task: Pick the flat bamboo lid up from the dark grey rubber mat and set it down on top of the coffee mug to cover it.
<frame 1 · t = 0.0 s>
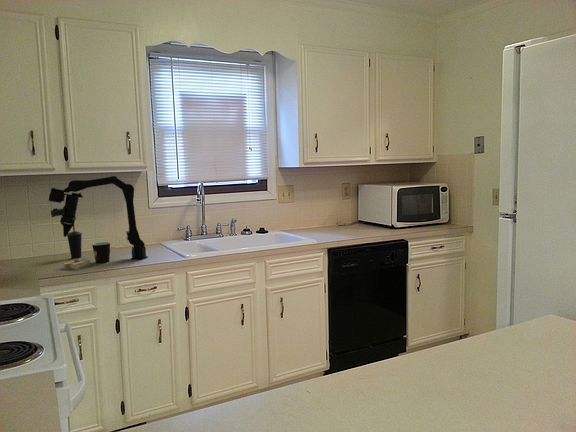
hand: (65, 235, 237), 15 cm above the counter, tool pointing down, fingers open, 9 cm apart
mat: (77, 267, 234), on the counter
drinking cup: (76, 258, 258), on the counter
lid: (77, 266, 234), resting on mat
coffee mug: (102, 263, 242), on the counter
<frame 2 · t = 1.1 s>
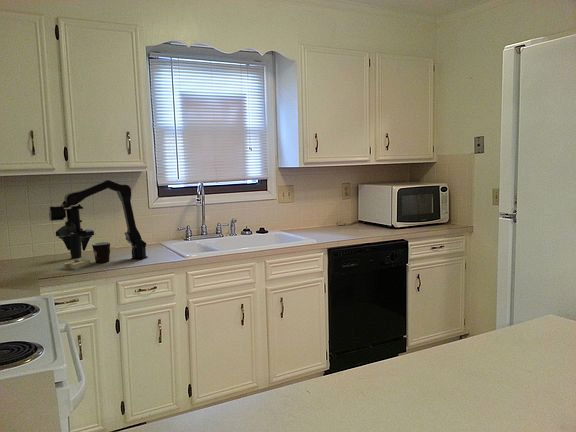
hand: (76, 250, 233), 9 cm above the counter, tool pointing down, fingers open, 9 cm apart
nothing on the counter moved.
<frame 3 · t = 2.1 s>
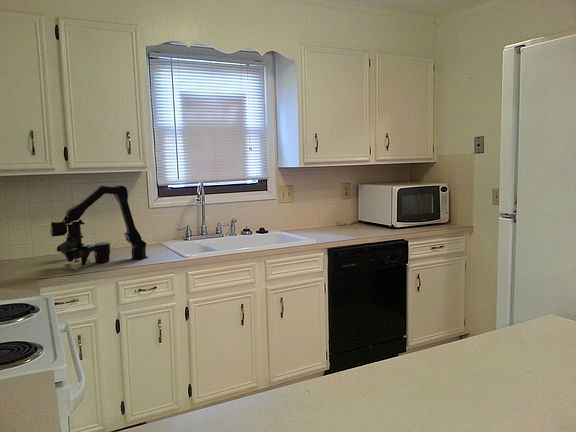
hand: (77, 265, 234), 1 cm above the counter, tool pointing down, fingers closed on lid, 7 cm apart
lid: (77, 266, 234), resting on mat, touching gripper
everything else where it was.
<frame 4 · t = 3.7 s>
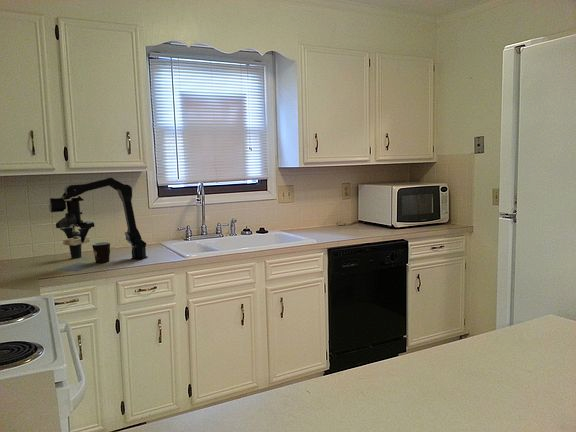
hand: (76, 242, 233), 13 cm above the counter, tool pointing down, fingers closed on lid, 7 cm apart
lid: (76, 243, 233), point 12 cm above the counter, touching gripper
everything else where it was.
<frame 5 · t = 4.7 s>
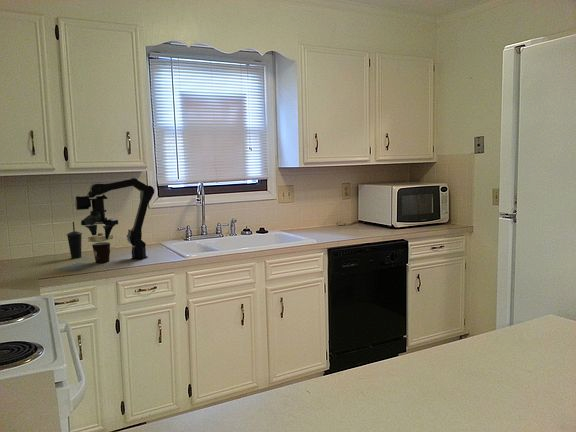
hand: (100, 238, 241), 13 cm above the counter, tool pointing down, fingers closed on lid, 7 cm apart
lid: (101, 240, 241), point 12 cm above the counter, touching gripper
everything else where it was.
when the fingers open (12 cm above the counter, at t = 5.5 s): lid drops 1 cm, resting on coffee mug.
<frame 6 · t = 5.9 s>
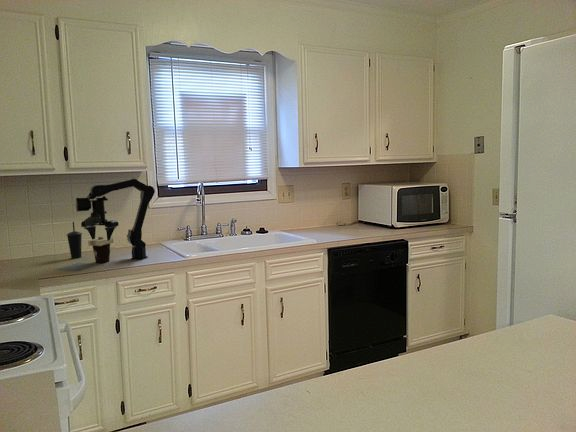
hand: (101, 240, 241), 12 cm above the counter, tool pointing down, fingers open, 9 cm apart
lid: (101, 244, 241), point 10 cm above the counter, touching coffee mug
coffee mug: (102, 263, 242), on the counter, touching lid
everything else where it was.
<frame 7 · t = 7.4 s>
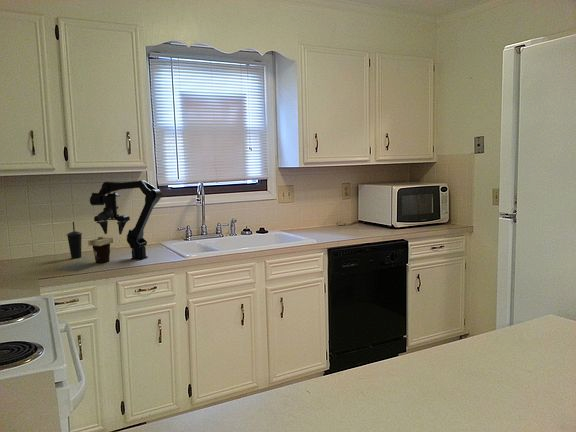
hand: (113, 234, 253), 13 cm above the counter, tool pointing down, fingers open, 9 cm apart
nothing on the counter moved.
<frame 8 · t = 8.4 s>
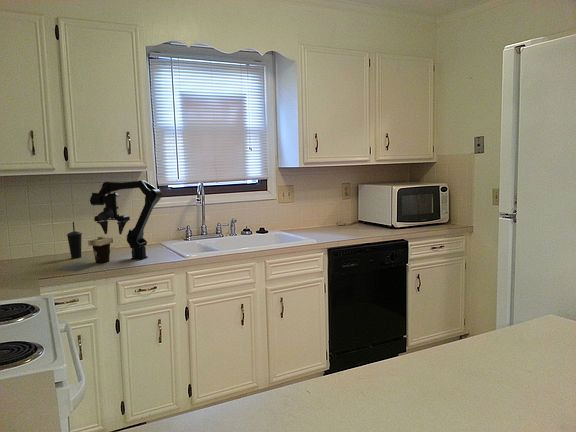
hand: (113, 234, 253), 13 cm above the counter, tool pointing down, fingers open, 9 cm apart
nothing on the counter moved.
at the end: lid point 10.0 cm above the counter; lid 0.2 cm from the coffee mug (horizontally); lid tilted 0° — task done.
